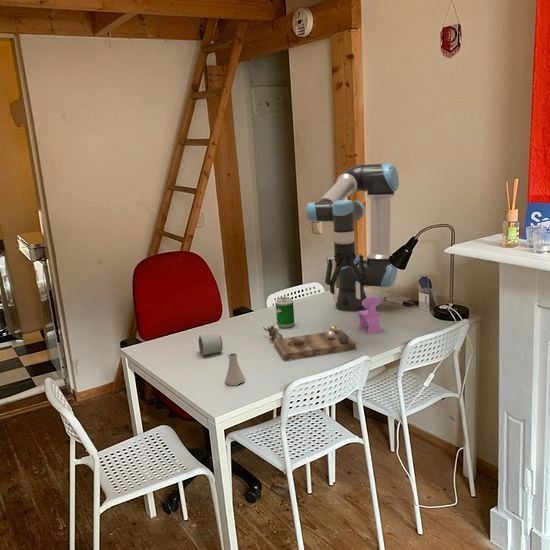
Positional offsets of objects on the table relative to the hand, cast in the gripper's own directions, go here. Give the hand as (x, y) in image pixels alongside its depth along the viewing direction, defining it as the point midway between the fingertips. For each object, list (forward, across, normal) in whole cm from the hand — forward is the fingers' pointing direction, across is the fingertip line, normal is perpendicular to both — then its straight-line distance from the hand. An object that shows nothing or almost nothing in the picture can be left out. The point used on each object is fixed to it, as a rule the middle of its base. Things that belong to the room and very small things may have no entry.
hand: (346, 299), depth 221 cm
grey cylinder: (+18, +53, -12) cm, 57 cm away
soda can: (+18, +18, -29) cm, 38 cm away
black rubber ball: (+13, +4, +6) cm, 15 cm away
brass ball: (+13, +4, -6) cm, 15 cm away
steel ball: (+13, +7, 0) cm, 15 cm away
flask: (+18, +48, +19) cm, 55 cm away
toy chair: (+18, -13, -10) cm, 24 cm away
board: (+17, +14, 0) cm, 22 cm away
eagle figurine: (+18, +27, -15) cm, 35 cm away
